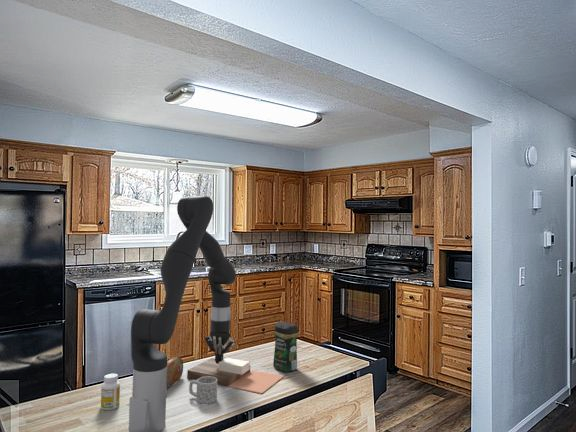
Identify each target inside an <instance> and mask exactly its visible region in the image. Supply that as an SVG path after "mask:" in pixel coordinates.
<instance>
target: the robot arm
mask: <svg viewBox="0 0 576 432" xmlns="http://www.w3.org/2000/svg"><path fill="white" fill-rule="evenodd" d="M176 211H177V215H178V218H179V219H180V220H179V221H180V222H181V223H182V225H183V226H184V227H185V229H186V230H185V231H184V232H183V233H182V234H181V235H179V237H177V238H176V239H175V240H174V241H173V242H172V243H171V244H170V246H169V247H168V248H167V250H166V252H165V254H164V256H163V260H162V262H161V265H160V277H161V280H162V283H163V287H164V291H165V298H164V302H163V305H162V308H161V309H159V310H157V309H148V308H147V309H146V308H145V309H144V308H142V309H139V310H138V311H136V312H135V314H134V316H133V318H132V321H131V325H130V327H131V329H130V342H131V343H130V345H131V347H130V348H131V351H130V352H131V353H130V355H131V356H130V357H131V360H132V364H133V366H132V369H133V370H132V396H130V397H129V406H128V407H129V409H128V432H161V431H162V430H164V429H165V427H166V421H167V420H166V417H167V413H166V412H167V411H166V410H167V388H166V386H167V361H168V355H167V354H165V353H164V352H163V351H160V350H159V349H158V348H156V346H155V345H165V344H167V343H168V342H170V340H171V339H172V336H173V334H174V332H175V328H176V324H177V320H178V316H179V313H180V312H179V311H180V309H181V304H182V300H183V296H184V293H185V290H186V286H187V283H188V281H189V278H190V275H191V273H192V270H193V267H194V264H195V260H196V257H197V254H198V251H199V250H200V251H201V254H202V256H203V258H204V261H205V263H206V265H207V266H208V267H209V270H208V273H207V280H208V284H209V287H210V292H211V308H210V309H211V310H210V327H209V329H210V333H209V335H208V336H205V337H204V341H205V343H206V345H207V346H208V348H209V349H210V352H213V353H214V355H215V356H214V359H215V362H216V364H219V362H220V361H222V360H224V354H226V353H229V352H230V350H231V348H232V347H233V346H234V345H235V344H236V340H235V339H233V338H231V318H232V317H231V313H232V312H231V292H230V291H228V290H226V289H224V288H223V287H222V285H224V286H229V285H232V284H234V282H235V281H236V277H237V274H236V269H235V267H234V265H232V263H231V262H230V261H229V260H228V258H227V257H226V256H225V254H224V252H223V250H222V247H221V245H220V244H219V241H217V239H216V238H215V237H214V236H212V235H211V233H209V232H208V231H207V229H208V227H209V225H210V222H211V220H212V218H213V214H214V202H213V200H212V198H211V197H210V196H206V195H192V196H191V195H190V196H183V197H181V198H180V199H179V200H178V202H177V205H176ZM154 344H155V345H154Z"/></svg>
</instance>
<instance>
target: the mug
mask: <svg viewBox="0 0 576 432" xmlns="http://www.w3.org/2000/svg"><path fill="white" fill-rule="evenodd" d="M194 384H195V385H196V392H195V391H193V385H194ZM188 392H189V395H191V396H193V397H195V399H196V400H195V401H196V403H197V404H200V405H212V404H214V403H216V402H217V399H218V385H217V378H215V377H210V376H206V377H201V378H199V379H197V380H194V379H191V380H190V382H189V385H188Z"/></svg>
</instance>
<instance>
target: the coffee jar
mask: <svg viewBox="0 0 576 432" xmlns="http://www.w3.org/2000/svg"><path fill="white" fill-rule="evenodd" d="M273 333H274V339H275V340H274V351H273V352H274V354H273V361H272V362H273V363H272V364H273V368H274V369H276V370H278V371H281V372H286V373H287V372H294V371H295V370H297V368H298V355H297V353H298V350H297V349H298V346H297V342H298V336H299V328H298V325H297V324H294V323H289V322H286V321H283V320H282V321H278V322H276V323H275V324H274V332H273Z"/></svg>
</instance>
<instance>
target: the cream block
mask: <svg viewBox="0 0 576 432" xmlns="http://www.w3.org/2000/svg"><path fill="white" fill-rule="evenodd" d="M250 363H251V361H248V360H242V359H236V358H230V357H225V358H223V360H222V361H220V362H219V368H218V370H219V371H225V372H230V373H235V374H241V375H242V374H244V373H245V372H247V371H248V370H250V371H251V364H250Z"/></svg>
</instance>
